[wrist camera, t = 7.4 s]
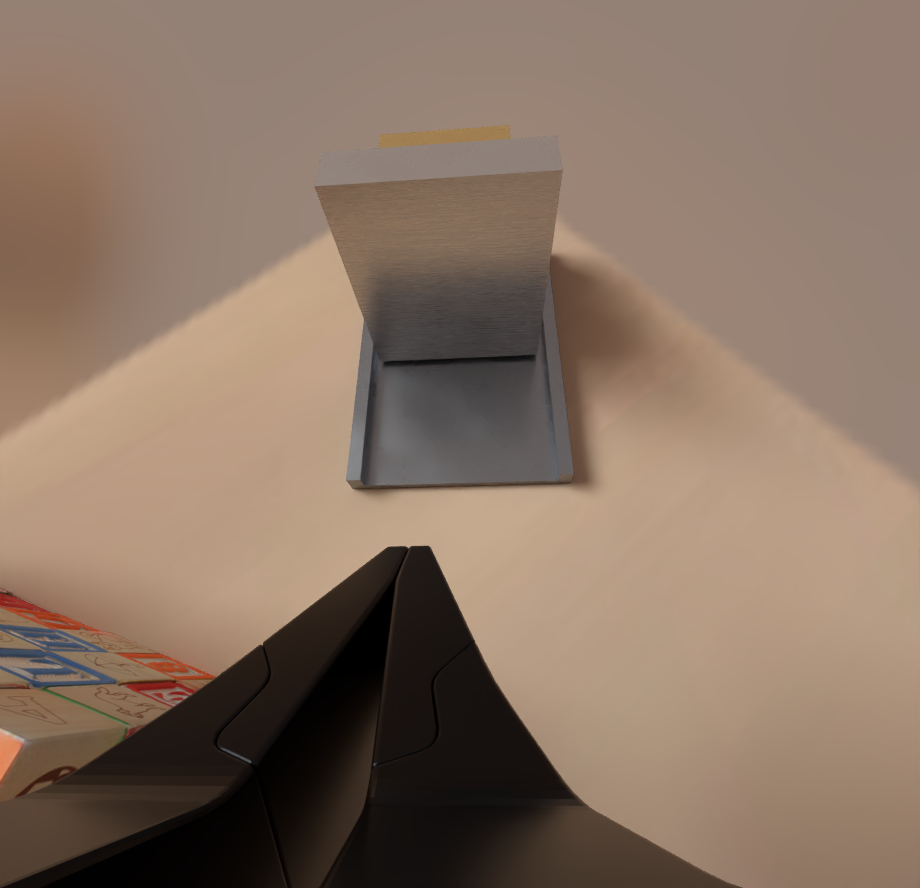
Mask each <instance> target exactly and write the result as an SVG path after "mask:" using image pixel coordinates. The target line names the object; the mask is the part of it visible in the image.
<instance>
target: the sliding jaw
mask: <svg viewBox="0 0 920 888" xmlns="http://www.w3.org/2000/svg"><path fill="white" fill-rule="evenodd" d="M562 171H563V168H562V162H561V155H560V149H559V143H558V136H544V137H530V138H515V139H501V140H487V141H473V142H458V143H444V144H430V145H416V146H402V147H387V148H374V149H360V150H345V151H333V152H321V156H320V161H319V166H318V172H317V176H316V181H315V189H316V192H317V194H318V197H319V200H320V203H321V205H322V208H323V211H324V213H325V216H326V219H327V221H328V224H329V227H330V229H331V232H332V235H333V237H334V240H335V243H336V245H337V248H338V251H339V253H340V256H341V259H342V261H343V264H344V267H345V269H346V272H347V275H348V277H349V280H350V283H351V285H352V288H353V291H354V293H355V296H356V299H357V301H358V304H359V307H360V309H361V312H362V315H363V317H364V320H365V323H366V325H367V328H368V331H369V333H370V336H371V339H372V341H373V344H374V347H375V349H376V352H377V355H378V357H379V360H380V361H403V360H426V359H450V358H473V357H496V356H519V355H537V353H538V346H539V338H540V331H541V324H542V317H543V309H544V302H545V295H546V288H547V280H548V273H549V266H550V259H551V251H552V244H553V237H554V230H555V223H556V215H557V208H558V201H559V193H560V186H561V179H562Z"/></svg>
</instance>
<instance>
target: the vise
mask: <svg viewBox="0 0 920 888" xmlns="http://www.w3.org/2000/svg"><path fill="white" fill-rule="evenodd" d="M573 475H574V470H573V462H572V453H571V445H570V436H569V428H568V420H567V411H566V403H565V394H564V386H563V378H562V369H561V361H560V352H559V344H558V336H557V327H556V319H555V311H554V302H553V294H552V285H551V277H550V269H549V273H548V280H547V288H546V295H545V302H544V309H543V317H542V324H541V331H540V338H539V346H538V353H537V355H519V356H496V357H473V358H450V359H426V360H403V361H380V360H379V357H378V355H377V352H376V349H375V347H374V344H373V341H372V339H371V336H370V333H369V331H368V328H367V325H366V323H365V320H364V325H363V334H362V343H361V352H360V361H359V370H358V379H357V388H356V397H355V406H354V415H353V424H352V433H351V442H350V451H349V460H348V469H347V478H346V481H347V482H348V483H349V485H350V486H351V487H352V488H353V489H362V488H399V487H437V486H474V485H512V484H550V483H570V482H571V480H572V478H573Z"/></svg>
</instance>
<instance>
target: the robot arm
mask: <svg viewBox="0 0 920 888" xmlns="http://www.w3.org/2000/svg"><path fill="white" fill-rule="evenodd" d="M0 888H742V887H739V886H736V885H733V884H730V883H727V882H725V881H723V880H721V879H719V878H717V877H715V876H713V875H711V874H709V873H707V872H705V871H703V870H701V869H699V868H697V867H696V866H694V865H692V864H690V863H688V862H687V861H685V860H683V859H681V858H679V857H678V856H676V855H674V854H672V853H670V852H669V851H667V850H665V849H663V848H661V847H660V846H658V845H656V844H654V843H652V842H651V841H649V840H647V839H645V838H643V837H642V836H640V835H638V834H636V833H634V832H633V831H631V830H629V829H627V828H625V827H624V826H622V825H620V824H618V823H616V822H615V821H613V820H611V819H609V818H607V817H606V816H604V815H602V814H600V813H598V812H596V811H595V810H593V809H592V808H590V807H589V806H588V805H587V804H585V803H584V802H583V801H582V800H581V799H580V798H579V797H578V796H577V795H576V794H575V793H574V792H573V791H572V790H571V789H570V788H569V786H568V785H567V784H566V783H565V781H564V780H563V779H562V777H561V776H560V775H559V773H558V772H557V771H556V769H555V768H554V766H553V765H552V764H551V762H550V761H549V759H548V758H547V756H546V755H545V753H544V752H543V751H542V749H541V748H540V746H539V745H538V743H537V742H536V741H535V739H534V738H533V736H532V735H531V733H530V732H529V730H528V729H527V728H526V726H525V725H524V723H523V722H522V720H521V719H520V718H519V716H518V715H517V713H516V712H515V710H514V709H513V708H512V706H511V705H510V703H509V702H508V700H507V698H506V697H505V695H504V694H503V692H502V691H501V689H500V687H499V686H498V684H497V683H496V681H495V679H494V678H493V676H492V674H491V672H490V670H489V668H488V666H487V664H486V663H485V661H484V659H483V657H482V655H481V652H480V650H479V648H478V646H477V644H475V640H474V638H473V636H472V634H471V632H470V630H469V628H468V625H467V623H466V621H465V619H464V617H463V615H462V613H461V611H460V609H459V606H458V604H457V602H456V600H455V598H454V596H453V594H452V592H451V589H450V587H449V585H448V583H447V581H446V579H445V577H444V575H443V573H442V570H441V568H440V566H439V564H438V562H437V560H436V558H435V556H434V553H433V551H432V549H431V548H430V547H429V546H411V547H410V548H409V549H408V547H405V546H396V547H387V548H386V549H384V550H383V551H382V552H380V553H379V554H378V555H376V556H375V557H374V558H373V559H371V560H370V561H369V562H367V563H366V564H365V565H363V566H362V567H361V568H360V569H358V570H357V571H356V572H354V573H353V574H352V575H350V576H349V577H348V578H346V579H345V580H344V581H343V582H341V583H340V584H339V585H337V586H336V587H335V588H333V589H332V590H331V591H330V592H328V593H327V594H326V595H324V596H323V597H322V598H320V599H319V600H318V601H316V602H315V603H314V604H313V605H311V606H310V607H309V608H307V609H306V610H305V611H303V612H302V613H301V614H300V615H298V616H297V617H296V618H294V619H293V620H292V621H290V622H289V623H288V624H286V625H285V626H284V627H283V628H281V629H280V630H279V631H277V632H276V633H275V634H273V635H272V636H271V637H269V638H268V639H267V640H266V641H264V642H263V645H259V646H258V647H256V648H255V649H254V650H252V651H251V652H250V653H248V654H247V655H246V656H244V657H243V658H242V659H241V660H239V661H238V662H236V663H235V664H234V665H232V666H231V667H230V668H228V669H227V670H226V671H224V672H223V673H221V674H220V675H219V676H217V677H216V678H215V679H213V680H212V681H210V682H209V683H207V684H206V685H205V686H203V687H202V688H200V689H199V690H197V691H196V692H194V693H193V694H191V695H190V696H188V697H187V698H185V699H184V700H183V701H181V702H180V703H178V704H177V705H175V706H174V707H172V708H170V709H169V710H167V711H166V712H164V713H163V714H161V715H160V716H158V717H157V718H155V719H154V720H152V721H151V722H149V723H148V724H146V725H145V726H143V727H142V728H140V729H139V730H137V731H136V732H134V733H133V734H131V735H129V736H128V737H126V738H125V739H123V740H122V741H120V742H119V743H117V744H116V745H114V746H113V747H111V748H110V749H108V750H107V751H105V752H104V753H102V754H101V755H99V756H98V757H96V758H95V759H93V760H92V761H90V762H88V763H87V764H85V765H84V766H82V767H80V768H79V769H77V770H76V771H74V772H72V773H71V774H69V775H67V776H65V777H63V778H61V779H60V780H58V781H56V782H54V783H52V784H50V785H47V786H45V787H43V788H40V789H38V790H36V791H33V792H31V793H28V794H25V795H22V796H19V797H16V798H13V799H10V800H6V801H2V802H0Z"/></svg>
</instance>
